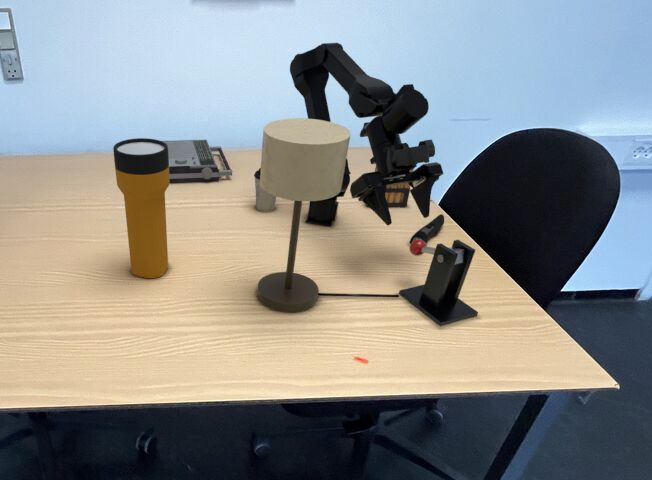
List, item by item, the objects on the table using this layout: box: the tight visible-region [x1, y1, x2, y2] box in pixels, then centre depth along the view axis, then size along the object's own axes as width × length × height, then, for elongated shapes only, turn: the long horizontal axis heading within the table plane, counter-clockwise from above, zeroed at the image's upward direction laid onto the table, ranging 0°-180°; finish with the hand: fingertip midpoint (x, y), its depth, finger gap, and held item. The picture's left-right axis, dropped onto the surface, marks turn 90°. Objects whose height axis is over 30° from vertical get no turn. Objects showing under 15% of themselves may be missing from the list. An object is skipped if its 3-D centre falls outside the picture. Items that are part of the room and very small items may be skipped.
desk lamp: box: [256, 117, 400, 314], centre depth 94 cm, size 29×14×32 cm, turn 89°
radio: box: [161, 139, 233, 184], centre depth 158 cm, size 24×5×20 cm
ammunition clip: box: [365, 166, 415, 208], centre depth 136 cm, size 11×2×12 cm, turn 93°
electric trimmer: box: [409, 214, 445, 245], centre depth 125 cm, size 4×16×3 cm, turn 141°
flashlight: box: [112, 137, 170, 279], centre depth 103 cm, size 10×26×10 cm
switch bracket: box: [398, 239, 479, 327], centre depth 98 cm, size 12×9×13 cm
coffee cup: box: [253, 167, 277, 213], centre depth 134 cm, size 7×7×10 cm
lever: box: [408, 239, 464, 264], centre depth 99 cm, size 12×3×3 cm, turn 23°
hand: (408, 220), depth 104 cm, fingers open, 9 cm apart
